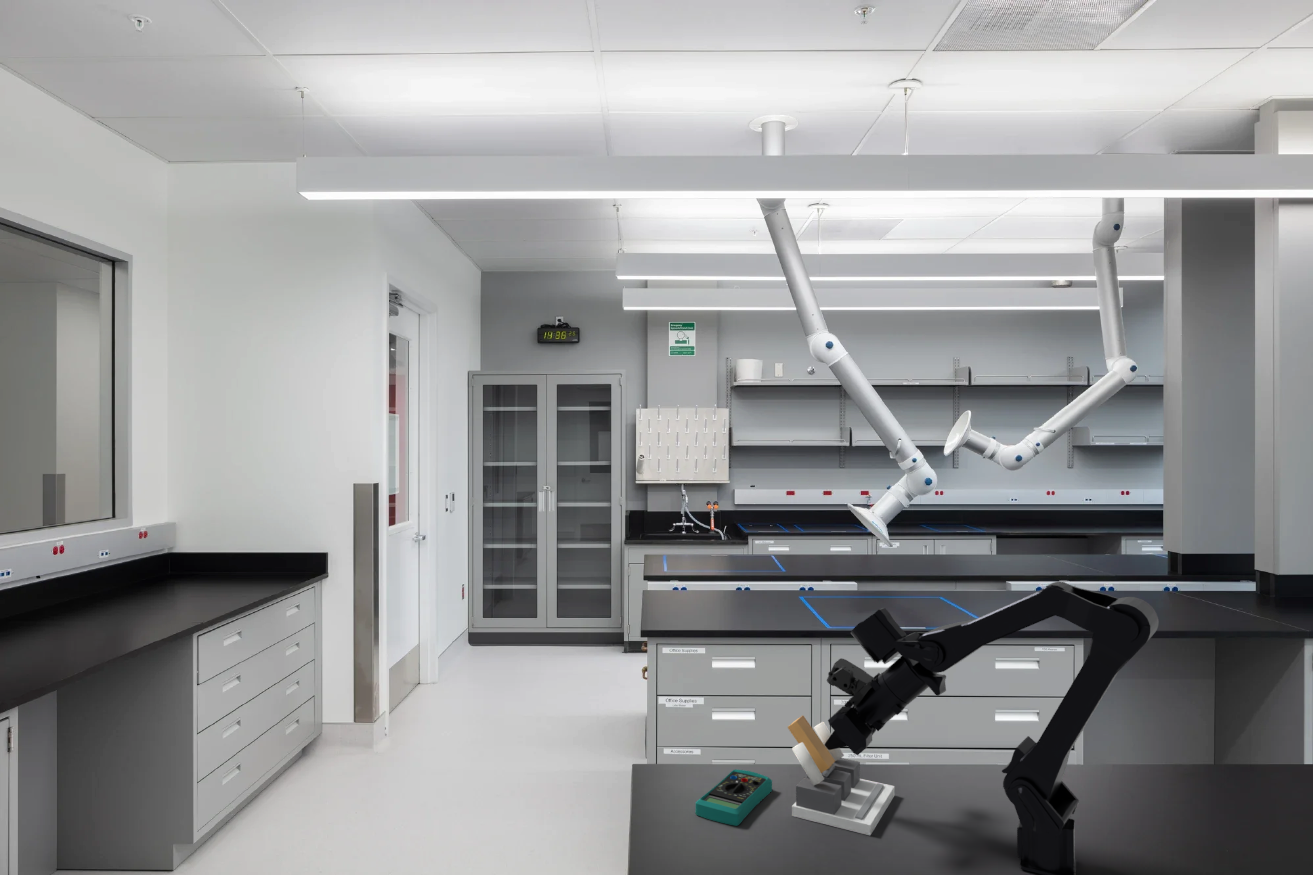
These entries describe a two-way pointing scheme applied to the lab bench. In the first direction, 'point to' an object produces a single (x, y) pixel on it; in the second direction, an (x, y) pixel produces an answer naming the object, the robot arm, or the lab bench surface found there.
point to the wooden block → (812, 745)
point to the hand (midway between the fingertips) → (827, 746)
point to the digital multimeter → (734, 797)
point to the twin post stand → (839, 792)
